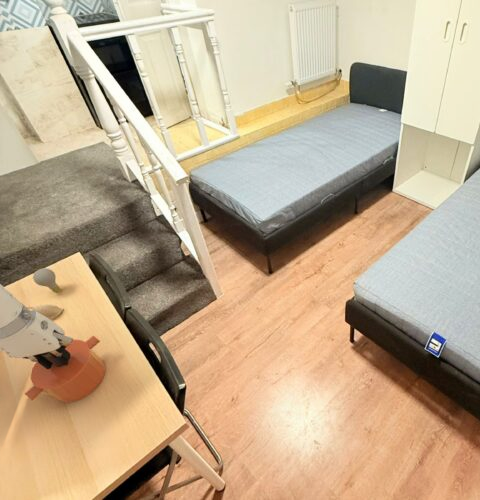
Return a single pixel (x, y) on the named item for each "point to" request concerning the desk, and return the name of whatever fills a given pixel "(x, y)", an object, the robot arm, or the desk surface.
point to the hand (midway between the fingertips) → (59, 361)
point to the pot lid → (61, 367)
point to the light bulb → (46, 279)
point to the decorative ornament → (47, 310)
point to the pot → (77, 380)
